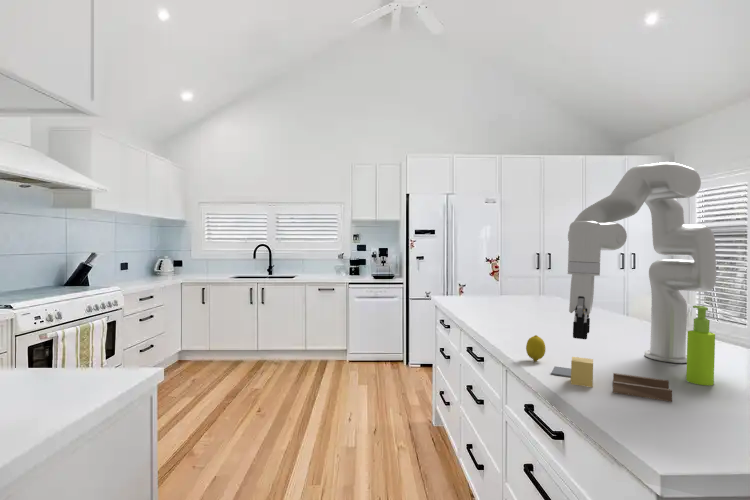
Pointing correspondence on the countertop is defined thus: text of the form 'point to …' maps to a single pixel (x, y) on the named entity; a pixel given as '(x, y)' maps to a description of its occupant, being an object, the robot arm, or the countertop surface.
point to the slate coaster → (561, 371)
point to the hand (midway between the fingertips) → (581, 335)
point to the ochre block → (582, 371)
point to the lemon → (535, 348)
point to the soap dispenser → (700, 351)
